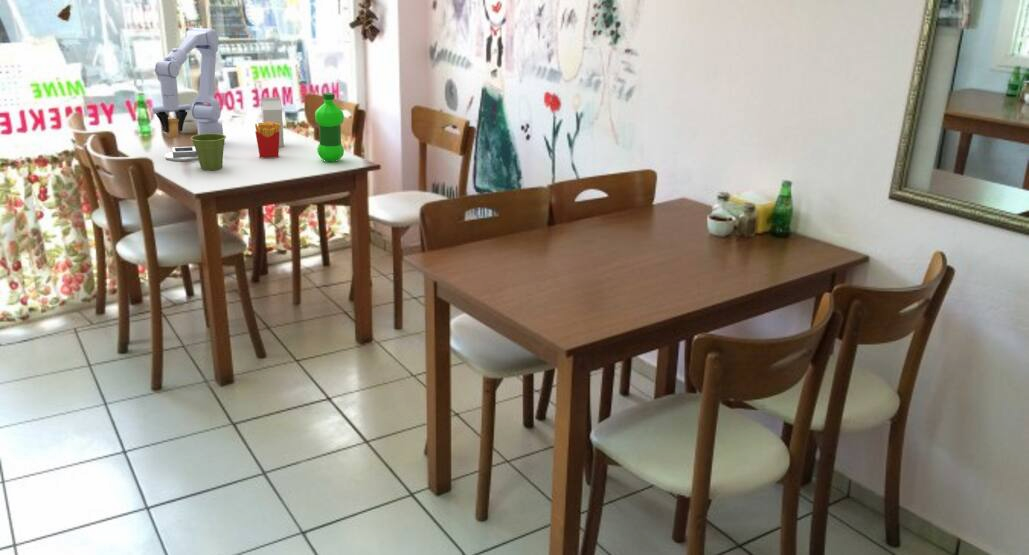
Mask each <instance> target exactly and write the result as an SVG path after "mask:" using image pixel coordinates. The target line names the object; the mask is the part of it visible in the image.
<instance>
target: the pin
mask: <svg viewBox="0 0 1029 555" xmlns="http://www.w3.org/2000/svg"><path fill="white" fill-rule="evenodd" d="M178 122H179V118H176V117H171V116H170V117H169V116H168V128H169V133H166V137H167V138H172V139H173V138H179V130H178Z"/></svg>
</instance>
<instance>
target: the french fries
mask: <svg viewBox="0 0 1029 555" xmlns="http://www.w3.org/2000/svg"><path fill="white" fill-rule="evenodd" d="M254 126H255V127H254V128H255V131H254V132H255V136H256V143H257V149H258V154H259V158H260V157H276V158H279V156H280V155H279V153H280V152H279V150H280V147H279V133H280V132H279V130H280V126H281V125H280V123H276V122H273V124H272V122H267V123H262V122H258V123H254Z"/></svg>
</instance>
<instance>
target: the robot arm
mask: <svg viewBox="0 0 1029 555" xmlns="http://www.w3.org/2000/svg"><path fill="white" fill-rule="evenodd" d="M219 38H220V37H219V34H218V33H217V31H216V30H215V29H214V28H202V27H201V28H200V27H192V26H191V27H190V28H188V29H187V31H186V36H185V38H184V40H183V41H182V43H181V44H180V46H179V47H172V48H171V51H170V52H169V53H168V54H167V55H166V56H165V57H164V58H163V60H162V59H161V60H158V61H157V62H156V63H155V67H154V73H155V75H156V76H157V80H158V82H159V86H160V95H161V106H155V107H150V108H149V109H150V114H152V115H156V117H157V118H158V120H159V121H160V124H161V126H162V128H163V130H164V131H163V132H164V133H166V134H167V133H169V128H168V117H169V115H168V114H167V113H174V114H175V116H176V117H175V118H179V122H178V132H182V131H183V130H184V129H183V128H184V123H185V120H186V118H187V116H188V111H190V114H191V116H192V118H193V119H194V121H195V122H196V126H197V135H199V134H222V135H224V131H223V122H222V121H221V120H219V119H220V117H221V108H220V104H221V103H220V102H219V100H217V99H216V98H215V97H214V94H215V81H216V80H215V78H216V63H217V62H216V60H217V52H218V51H219ZM194 49H195V50H197V51H199V52H200V54H201V61H200V62H201V63H200V77H199V78H200V79H199V93H198V94H199V95H197V96H196V97H195V98H193V100H192V101H193V102H192V105H191V104H189V103H188V104H180V100H179V90H178V82H177V81H178V80H177V77H178V76H179V74H180V70H181V68H182V66H183V65H184V63H185V62H186V61H187V60H188V56H187V55H188V54H190V52H191V51H193V50H194Z"/></svg>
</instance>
